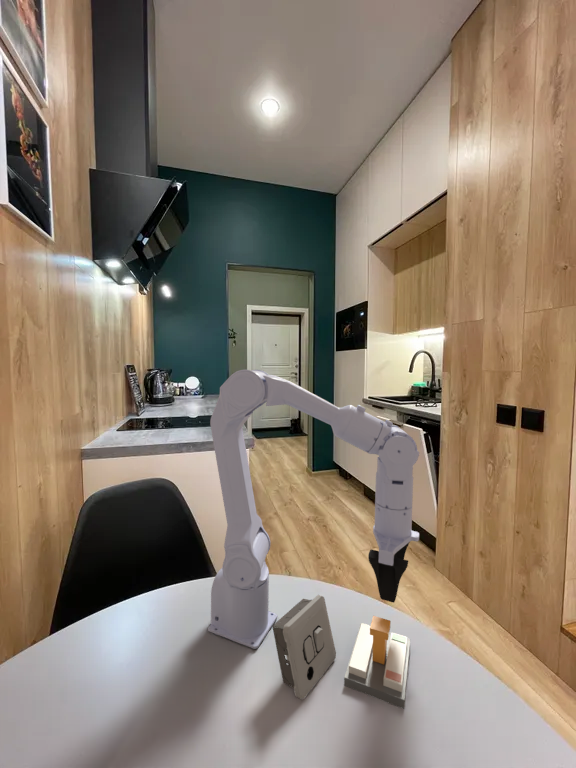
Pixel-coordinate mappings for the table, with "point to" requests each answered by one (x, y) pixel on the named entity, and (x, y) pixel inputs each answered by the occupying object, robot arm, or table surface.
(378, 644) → the breaker handle
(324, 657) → the electrical switch
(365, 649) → the breaker base
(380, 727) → the table surface
